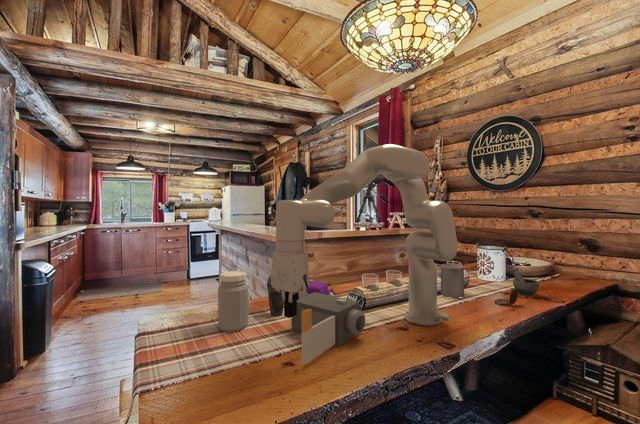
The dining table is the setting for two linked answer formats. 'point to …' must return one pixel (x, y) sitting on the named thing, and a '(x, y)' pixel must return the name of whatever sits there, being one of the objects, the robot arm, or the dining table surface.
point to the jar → (232, 301)
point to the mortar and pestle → (524, 284)
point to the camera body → (325, 306)
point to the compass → (511, 301)
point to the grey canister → (452, 280)
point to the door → (316, 336)
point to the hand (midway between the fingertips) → (290, 315)
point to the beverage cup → (274, 300)
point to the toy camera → (319, 288)
